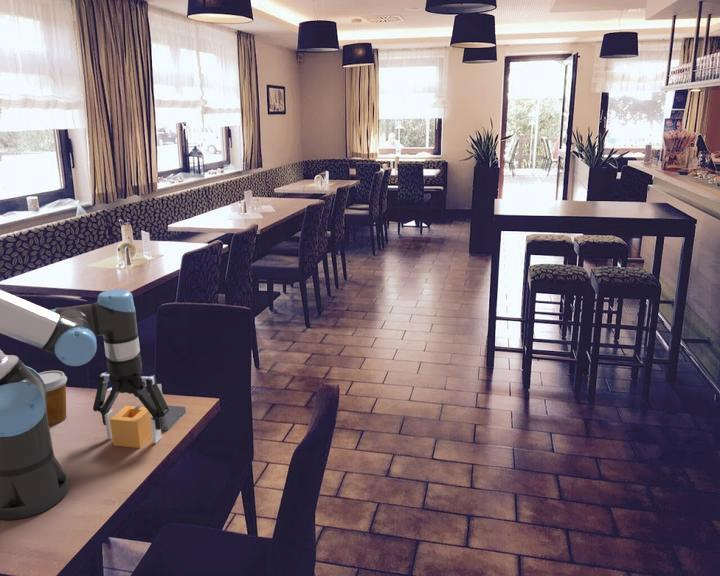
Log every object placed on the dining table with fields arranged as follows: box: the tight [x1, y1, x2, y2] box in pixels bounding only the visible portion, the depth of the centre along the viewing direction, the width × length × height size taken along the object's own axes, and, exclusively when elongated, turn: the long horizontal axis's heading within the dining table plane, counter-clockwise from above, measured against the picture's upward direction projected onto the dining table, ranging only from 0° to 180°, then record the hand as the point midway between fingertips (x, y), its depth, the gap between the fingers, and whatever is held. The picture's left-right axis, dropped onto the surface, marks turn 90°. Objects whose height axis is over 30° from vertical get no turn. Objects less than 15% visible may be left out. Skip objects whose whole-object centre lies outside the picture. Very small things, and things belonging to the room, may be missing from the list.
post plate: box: [157, 383, 187, 432], centre depth 154 cm, size 10×10×10 cm
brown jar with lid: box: [37, 370, 68, 426], centre depth 155 cm, size 10×10×12 cm
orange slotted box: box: [110, 405, 153, 449], centre depth 145 cm, size 7×7×7 cm
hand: (134, 438), depth 146 cm, fingers open, 11 cm apart
